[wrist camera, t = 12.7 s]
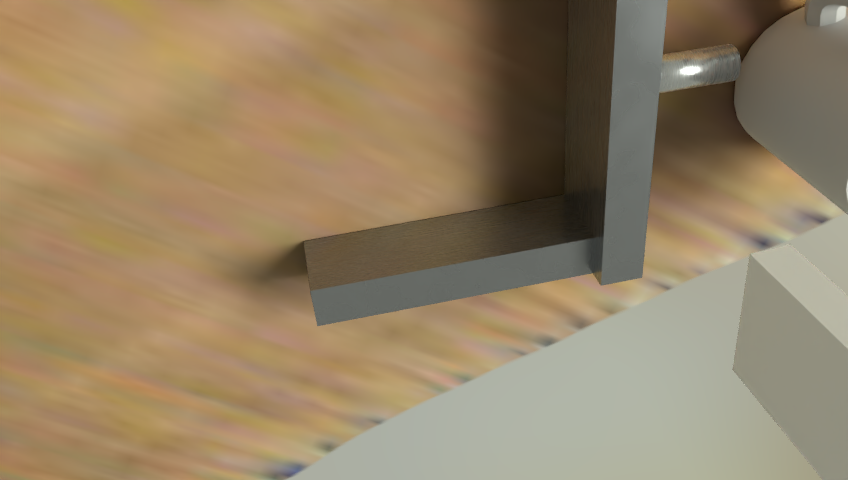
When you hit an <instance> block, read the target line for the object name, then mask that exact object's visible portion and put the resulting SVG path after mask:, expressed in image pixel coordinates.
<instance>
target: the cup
mask: <svg viewBox="0 0 848 480" xmlns="http://www.w3.org/2000/svg"><path fill="white" fill-rule="evenodd" d="M734 105H735V109H736V114H737V118H738V120H739V121H740V123H741V125H742V126H743V128H744V129H745V131H746V132H747V133H748V134H749V135H750V136H751V137H752V138H753V139H755V140H756V141H757V142H758V143H760V144H761V145H762V146H763V147H765V148H766V149H767V150H768V151H770V152H771V153H772V154H773V155H775V156H776V157H777V158H778V159H779V160H781V161H782V162H783V163H784V164H786V165H787V166H788V167H789V168H791V169H792V170H793V171H794V172H796V173H797V174H798V175H799V176H801V177H802V178H803V179H804V180H806V181H807V182H808V183H809V184H811V185H812V186H813V187H814V188H816V189H817V190H818V191H819V192H821V193H822V194H823V195H824V196H825V197H827V198H828V199H829V200H830V201H832V202H833V203H834V204H835V205H837V206H838V207H839V208H840V209H842V210H843V211H844V212H845V213H847V214H848V0H806V3H805V7H802V8H800V9H798V10H796V11H794V12H792V13H790V14H788V15H786V16H784V17H782V18H780V19H779V20H778V21H776V22H775V23H774V24H772V25H771V26H770V27H769V28H767V29H766V30H765V31H764V32H763V33H762V34H761V35H760V37H759V38H758V39H757V40H756V41H755V42H754V43H753V45H752V46H751V47H750V49H749V51H748V52H747V54H746V56H745V58H744V59H743V61H742V63H741V70H740V74H739V76H738V78H737V79H736V82H735V95H734Z"/></svg>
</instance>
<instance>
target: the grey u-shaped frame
mask: <svg viewBox="0 0 848 480" xmlns="http://www.w3.org/2000/svg"><path fill="white" fill-rule="evenodd" d="M667 3H668V0H568V44H567V90H566V136H565V182H564V195H559V196H554V197H548V198H543V199H537V200H531V201H526V202H520V203H515V204H509V205H504V206H498V207H492V208H487V209H481V210H476V211H470V212H464V213H459V214H453V215H448V216H442V217H437V218H431V219H425V220H420V221H414V222H409V223H403V224H398V225H392V226H386V227H381V228H375V229H370V230H364V231H358V232H353V233H347V234H342V235H336V236H331V237H325V238H319V239H314V240H308V241H303V242H304V249H305V256H306V263H307V271H308V278H309V285H310V292H311V297H312V302H313V307H314V311H315V316H316V321H317V326H321V325H326V324H331V323H336V322H341V321H347V320H352V319H357V318H362V317H367V316H373V315H378V314H383V313H388V312H393V311H399V310H404V309H409V308H414V307H419V306H424V305H430V304H435V303H440V302H445V301H450V300H456V299H461V298H466V297H471V296H476V295H482V294H487V293H492V292H497V291H502V290H508V289H513V288H518V287H523V286H528V285H534V284H539V283H544V282H549V281H554V280H559V279H565V278H570V277H575V276H580V275H585V274H591V273H593V274H594V276H595V277H596V279H597V280H598V282H599V283H600V285H606V284H612V283H617V282H622V281H627V280H632V279H637V278H642V273H643V262H644V252H645V241H646V230H647V219H648V208H649V198H650V187H651V176H652V165H653V154H654V144H655V133H656V122H657V111H658V100H659V93H664V92H671V91H677V90H683V89H689V88H695V87H701V86H707V85H713V84H719V83H725V82H731V81H735V80H736V79H737V78H738V76H739V74H740V70H741V59H740V54H739V52H738V50H737V48H736V47H735V46H734V45H733V44H725V45H718V46H712V47H706V48H700V49H693V50H687V51H681V52H675V53H668V54H663V46H664V35H665V25H666V14H667Z"/></svg>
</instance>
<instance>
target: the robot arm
mask: <svg viewBox="0 0 848 480" xmlns="http://www.w3.org/2000/svg"><path fill="white" fill-rule="evenodd" d="M733 371H734V372H735V373H736V374H737V376H738V377H739V378H740V379H741V381H742V382H743V383H744V384H745V385H746V387H747V388H748V389H749V390H750V392H751V393H752V394H753V395H754V396H755V398H756V399H757V400H758V401H759V403H760V404H761V405H762V406H763V407H764V409H765V410H766V411H767V412H768V413H769V415H770V416H771V417H772V418H773V420H774V421H775V422H776V423H777V425H778V426H779V427H780V428H781V429H782V431H783V432H784V433H785V434H786V436H787V437H788V438H789V439H790V440H791V442H792V443H793V444H794V445H795V446H796V447H797V449H798V450H799V451H800V453H801V454H802V455H803V456H804V457H805V459H806V460H807V461H808V462H809V464H810V465H811V466H812V467H813V469H814V470H815V471H816V472H817V473H818V475H819V476H820V477H821V478H822V479H823V480H848V295H847V294H845V293H844V292H843V291H842V290H841V289H840V288H839V287H838V286H837V285H836V284H834V283H833V282H832V281H831V280H830V279H829V278H828V277H827V276H825V275H824V274H823V273H822V272H821V271H820V270H819V269H817V268H816V267H815V266H814V265H813V264H812V263H811V262H810V261H809V260H807V259H806V258H805V257H804V256H803V255H802V254H801V253H799V252H798V251H797V250H796V249H795V248H794V247H793V246H792V245H790V244H789V245H785V246H781V247H777V248H772V249H768V250H764V251H760V252H756V253H752V254H750V256H749V263H748V270H747V277H746V283H745V290H744V297H743V303H742V311H741V317H740V323H739V330H738V337H737V343H736V350H735V357H734V364H733Z"/></svg>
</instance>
